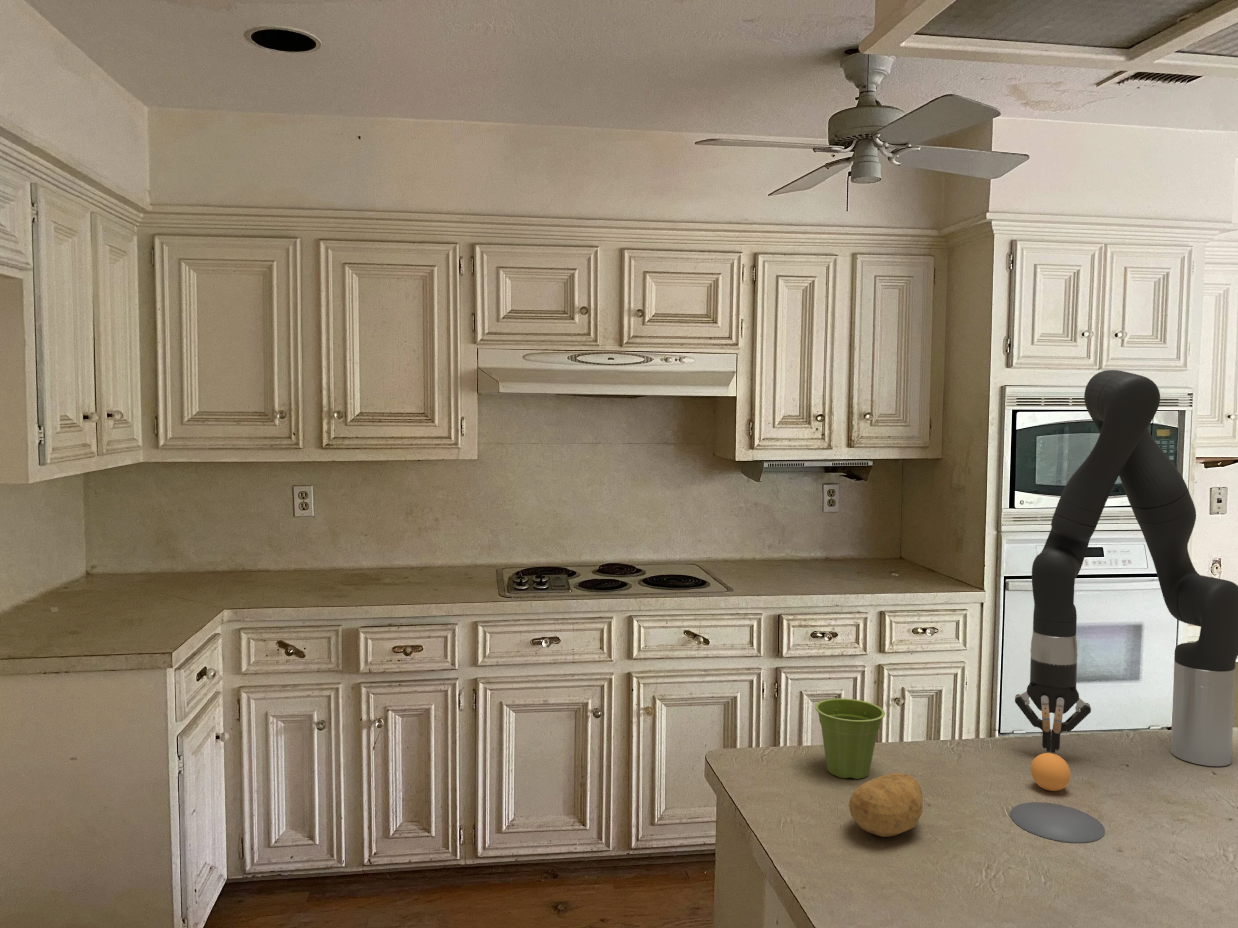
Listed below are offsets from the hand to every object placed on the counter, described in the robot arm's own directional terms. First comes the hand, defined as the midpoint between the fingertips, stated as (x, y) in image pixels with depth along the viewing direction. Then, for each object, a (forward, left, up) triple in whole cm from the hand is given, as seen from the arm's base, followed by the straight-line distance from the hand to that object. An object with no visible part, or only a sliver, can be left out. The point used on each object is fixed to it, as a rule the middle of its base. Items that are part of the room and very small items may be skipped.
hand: (1050, 750), depth 159 cm
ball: (+12, +7, +2) cm, 14 cm away
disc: (+23, +14, -2) cm, 27 cm away
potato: (+47, +1, -2) cm, 47 cm away
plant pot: (+35, -17, -2) cm, 39 cm away
